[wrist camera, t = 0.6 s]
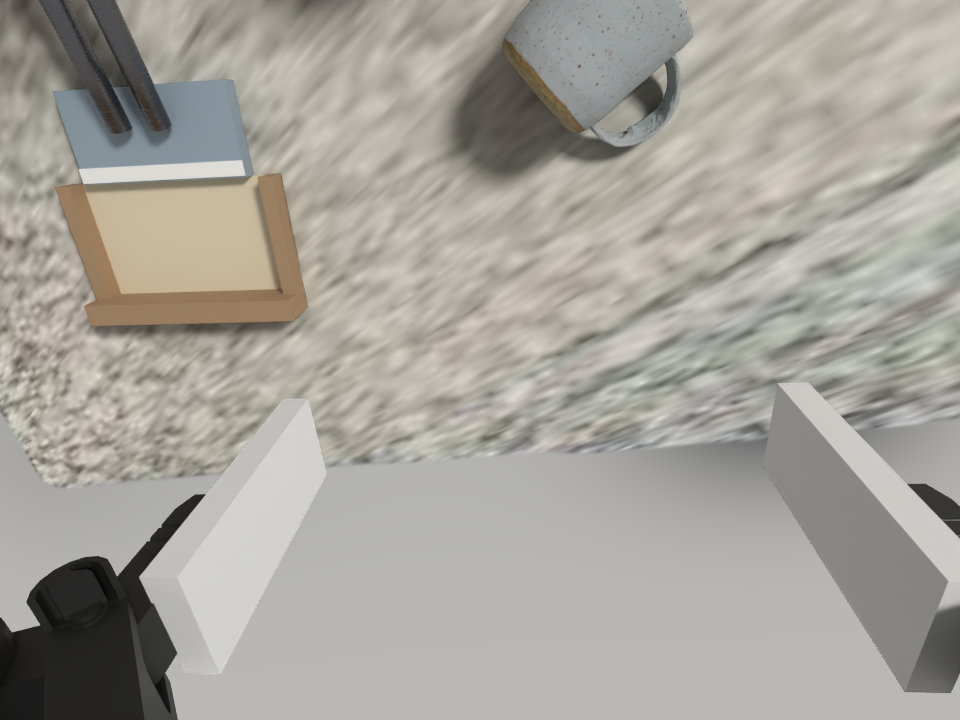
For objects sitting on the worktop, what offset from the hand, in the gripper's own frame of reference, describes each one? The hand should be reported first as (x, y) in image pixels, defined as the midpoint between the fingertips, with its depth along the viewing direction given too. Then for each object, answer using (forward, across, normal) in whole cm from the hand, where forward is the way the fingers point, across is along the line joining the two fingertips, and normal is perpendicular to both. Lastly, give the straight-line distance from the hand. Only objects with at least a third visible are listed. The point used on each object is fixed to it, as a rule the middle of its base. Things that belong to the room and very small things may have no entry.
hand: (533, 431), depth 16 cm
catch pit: (+26, -26, 0) cm, 36 cm away
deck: (+26, -25, +8) cm, 37 cm away
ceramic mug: (+26, +5, +10) cm, 29 cm away
